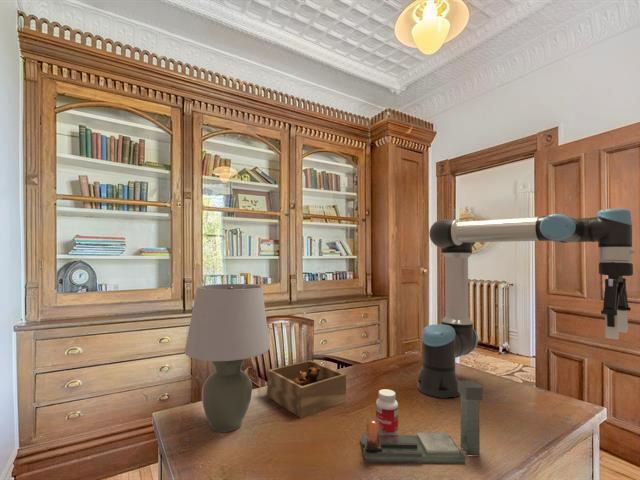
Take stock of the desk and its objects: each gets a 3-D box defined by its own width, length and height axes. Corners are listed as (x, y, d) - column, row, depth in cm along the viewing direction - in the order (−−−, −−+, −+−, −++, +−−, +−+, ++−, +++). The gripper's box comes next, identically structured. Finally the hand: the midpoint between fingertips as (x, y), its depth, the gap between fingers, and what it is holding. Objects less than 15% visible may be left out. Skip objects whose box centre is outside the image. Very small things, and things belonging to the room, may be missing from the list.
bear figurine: (318, 389, 124) (319, 356, 125) (330, 407, 110) (331, 369, 110) (282, 392, 120) (282, 358, 121) (289, 411, 106) (290, 372, 107)
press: (363, 463, 80) (364, 390, 81) (358, 440, 90) (359, 376, 90) (488, 464, 80) (487, 392, 81) (469, 441, 90) (469, 377, 91)
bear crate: (267, 396, 117) (267, 370, 117) (309, 383, 129) (310, 360, 129) (300, 418, 101) (301, 388, 102) (345, 401, 113) (346, 374, 114)
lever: (365, 453, 81) (365, 423, 81) (363, 446, 84) (364, 417, 84) (382, 453, 81) (382, 424, 81) (379, 446, 84) (379, 418, 84)
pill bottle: (371, 432, 94) (371, 392, 94) (382, 424, 98) (382, 386, 99) (391, 440, 90) (391, 398, 90) (401, 431, 94) (402, 392, 95)
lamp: (282, 431, 94) (285, 288, 96) (194, 459, 80) (199, 292, 82) (248, 400, 113) (252, 282, 115) (173, 418, 100) (178, 284, 102)
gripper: (624, 262, 87) (626, 344, 86) (639, 262, 103) (641, 331, 102) (588, 261, 93) (589, 338, 92) (608, 261, 108) (609, 327, 107)
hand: (616, 335), depth 97 cm, fingers open, 13 cm apart
